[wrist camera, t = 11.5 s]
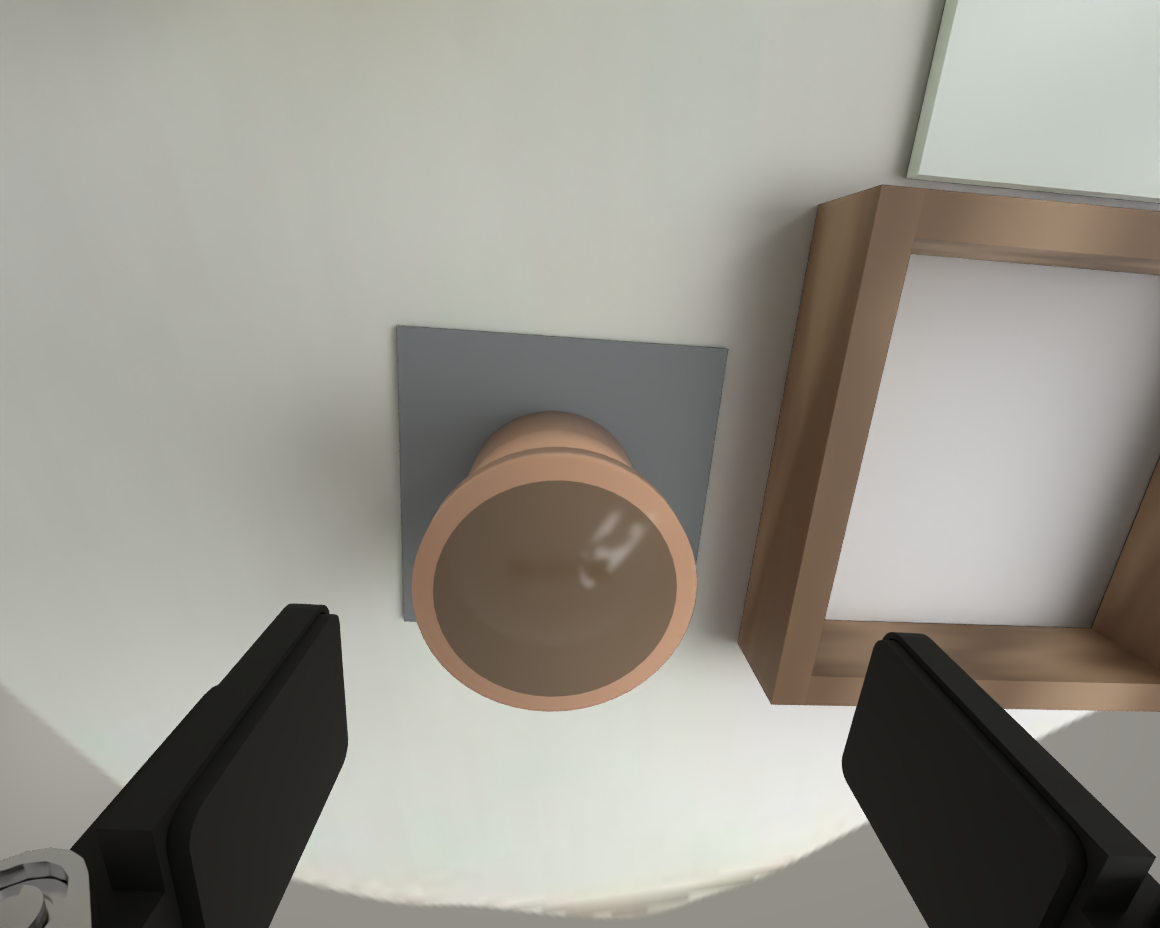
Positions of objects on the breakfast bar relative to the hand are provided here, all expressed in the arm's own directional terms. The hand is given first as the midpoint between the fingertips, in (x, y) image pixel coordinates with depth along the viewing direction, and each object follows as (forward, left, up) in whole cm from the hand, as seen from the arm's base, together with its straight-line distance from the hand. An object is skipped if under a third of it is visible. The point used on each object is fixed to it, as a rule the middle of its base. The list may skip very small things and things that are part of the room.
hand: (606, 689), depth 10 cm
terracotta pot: (+1, 0, -11) cm, 11 cm away
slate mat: (+1, 0, -11) cm, 11 cm away
